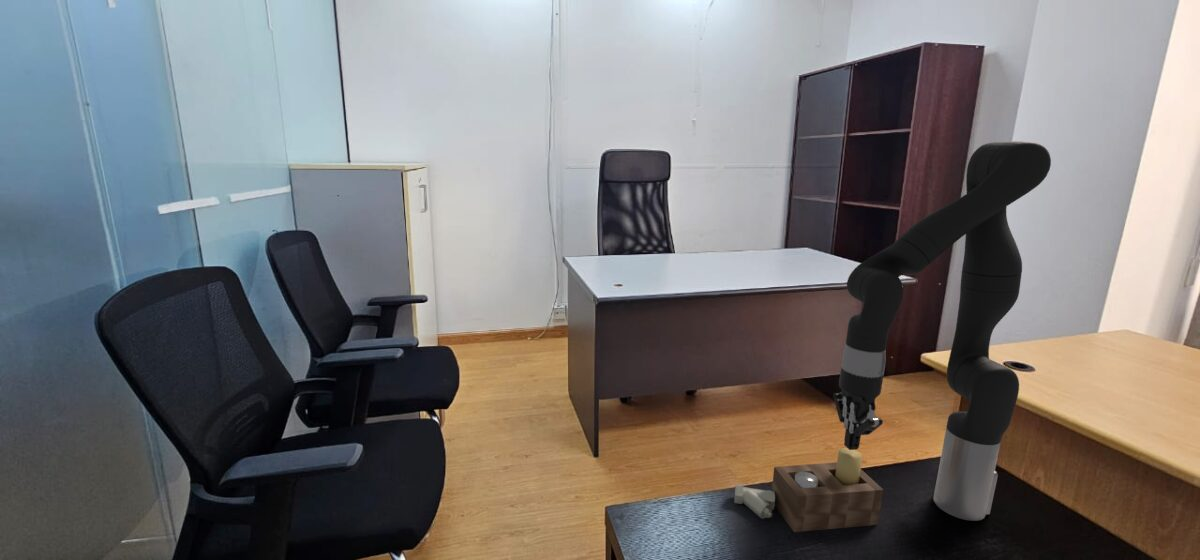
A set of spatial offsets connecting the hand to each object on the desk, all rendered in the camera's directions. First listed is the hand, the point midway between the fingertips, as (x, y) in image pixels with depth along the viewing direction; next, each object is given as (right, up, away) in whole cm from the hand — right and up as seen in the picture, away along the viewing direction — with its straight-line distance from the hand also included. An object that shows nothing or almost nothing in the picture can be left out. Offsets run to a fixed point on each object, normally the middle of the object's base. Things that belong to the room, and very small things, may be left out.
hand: (850, 447), depth 106 cm
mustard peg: (0, -9, +2) cm, 10 cm away
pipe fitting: (-19, -14, +3) cm, 24 cm away
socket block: (-5, -14, +3) cm, 15 cm away
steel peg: (-9, -14, +2) cm, 17 cm away
